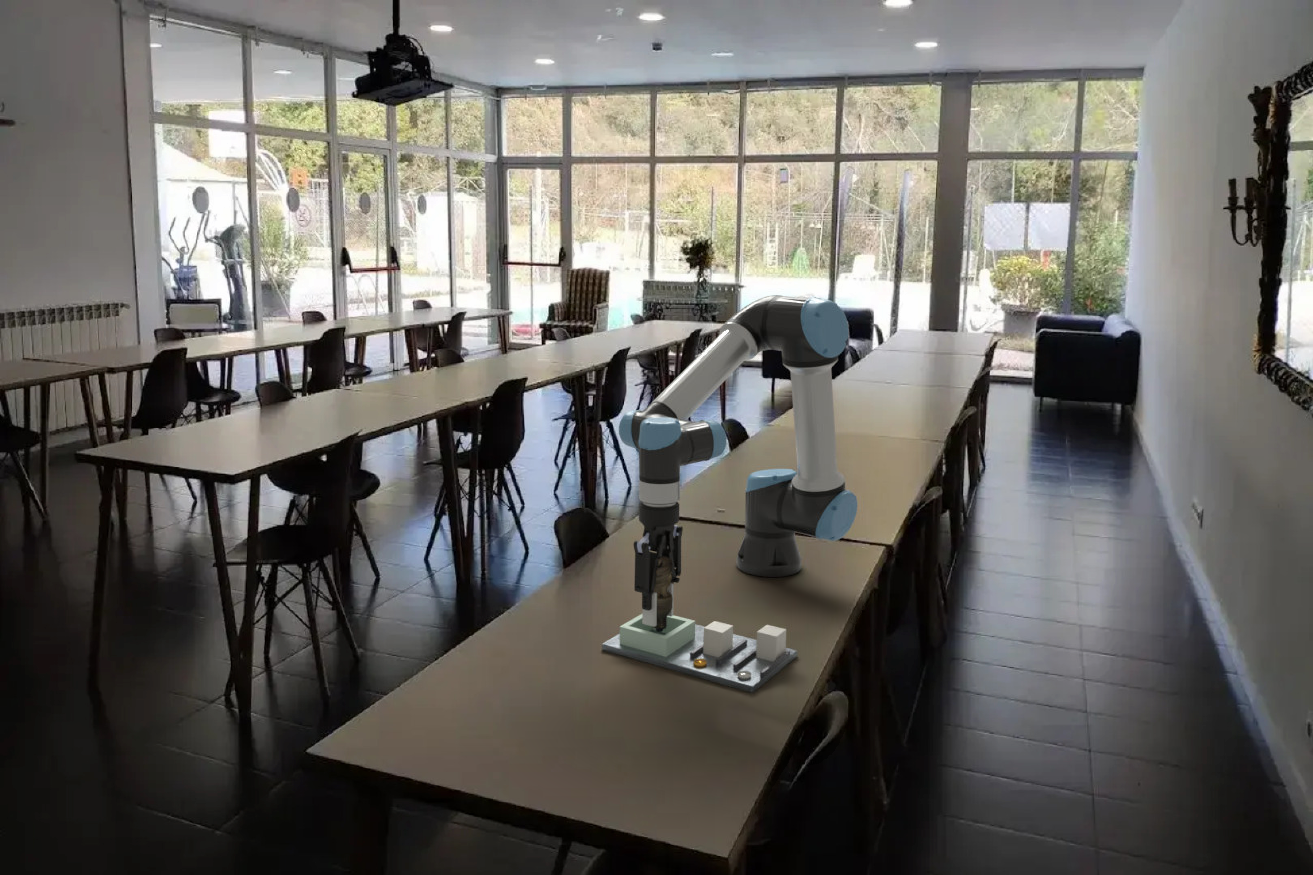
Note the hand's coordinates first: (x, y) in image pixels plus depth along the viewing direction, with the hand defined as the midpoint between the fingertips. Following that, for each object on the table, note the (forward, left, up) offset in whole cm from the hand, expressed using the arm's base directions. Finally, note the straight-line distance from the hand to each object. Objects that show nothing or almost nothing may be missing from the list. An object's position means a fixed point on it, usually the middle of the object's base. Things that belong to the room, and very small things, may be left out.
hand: (657, 619), depth 194 cm
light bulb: (0, 0, -2) cm, 2 cm away
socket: (0, 0, -4) cm, 4 cm away
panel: (-2, +8, -6) cm, 10 cm away
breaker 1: (-2, +12, -4) cm, 13 cm away
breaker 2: (-6, +21, -4) cm, 22 cm away
